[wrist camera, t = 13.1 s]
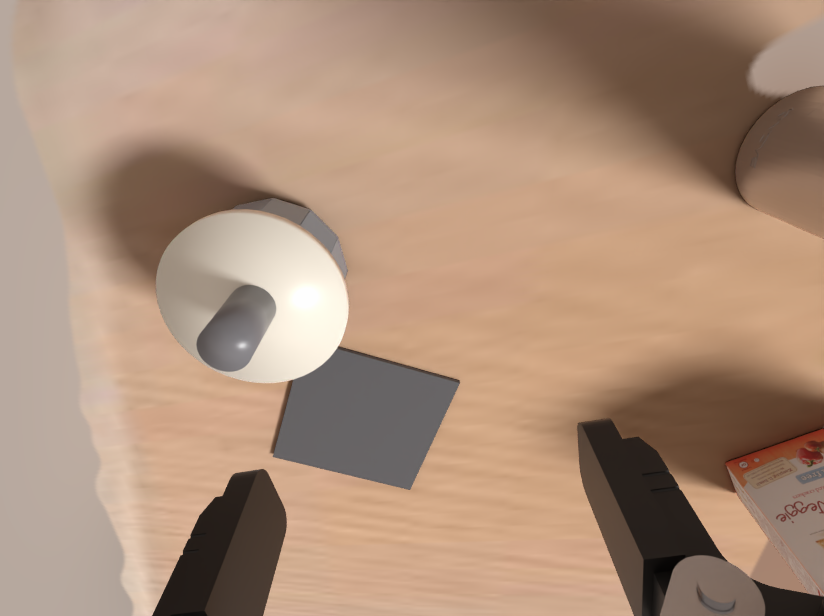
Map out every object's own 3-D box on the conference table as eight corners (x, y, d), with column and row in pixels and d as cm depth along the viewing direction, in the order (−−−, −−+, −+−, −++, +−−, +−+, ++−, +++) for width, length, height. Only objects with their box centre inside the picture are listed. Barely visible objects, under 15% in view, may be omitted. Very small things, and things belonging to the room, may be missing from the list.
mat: (459, 380, 45) (459, 383, 45) (409, 486, 52) (409, 489, 51) (304, 337, 43) (304, 339, 43) (273, 454, 50) (272, 456, 49)
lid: (370, 243, 32) (360, 284, 26) (326, 393, 37) (309, 453, 31) (170, 182, 30) (111, 211, 24) (156, 349, 35) (106, 405, 30)
